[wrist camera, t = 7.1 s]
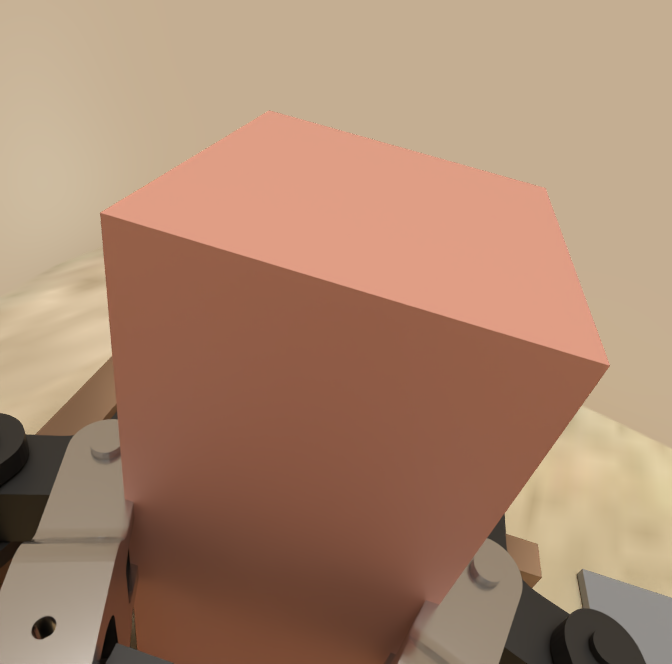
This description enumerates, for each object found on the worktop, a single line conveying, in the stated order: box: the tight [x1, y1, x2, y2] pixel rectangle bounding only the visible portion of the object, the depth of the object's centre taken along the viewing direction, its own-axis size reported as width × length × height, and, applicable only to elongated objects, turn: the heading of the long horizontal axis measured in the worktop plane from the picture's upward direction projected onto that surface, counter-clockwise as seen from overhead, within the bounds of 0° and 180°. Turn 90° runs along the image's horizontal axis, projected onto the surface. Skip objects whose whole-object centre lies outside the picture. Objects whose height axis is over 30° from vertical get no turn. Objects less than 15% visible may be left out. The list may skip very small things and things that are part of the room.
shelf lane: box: [0, 357, 542, 590], centre depth 14 cm, size 16×9×5 cm, turn 76°
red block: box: [100, 111, 610, 664], centre depth 11 cm, size 5×5×14 cm
